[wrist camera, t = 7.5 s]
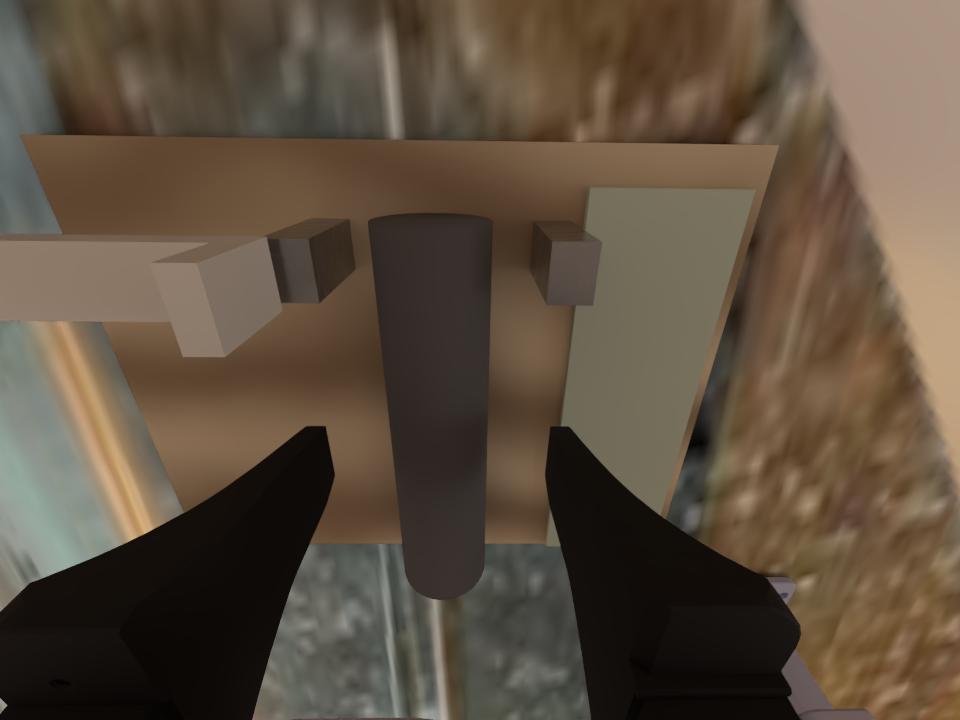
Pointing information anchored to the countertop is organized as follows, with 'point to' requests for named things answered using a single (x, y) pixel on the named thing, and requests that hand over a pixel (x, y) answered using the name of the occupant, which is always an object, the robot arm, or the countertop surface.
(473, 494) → the dark grey rod
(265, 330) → the board
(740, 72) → the countertop surface
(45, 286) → the beige l-shaped block
